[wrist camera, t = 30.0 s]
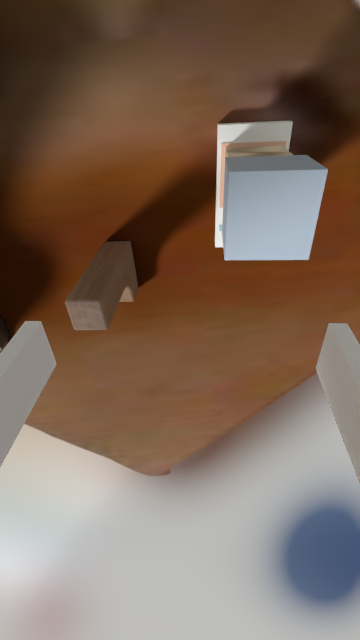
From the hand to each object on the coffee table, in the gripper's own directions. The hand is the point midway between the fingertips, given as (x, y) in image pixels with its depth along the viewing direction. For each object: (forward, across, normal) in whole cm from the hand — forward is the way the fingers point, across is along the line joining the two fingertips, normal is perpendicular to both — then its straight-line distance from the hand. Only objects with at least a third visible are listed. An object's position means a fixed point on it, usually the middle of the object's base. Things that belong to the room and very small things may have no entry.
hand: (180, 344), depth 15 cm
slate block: (+24, +7, 0) cm, 25 cm away
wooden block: (+37, -13, -14) cm, 42 cm away
